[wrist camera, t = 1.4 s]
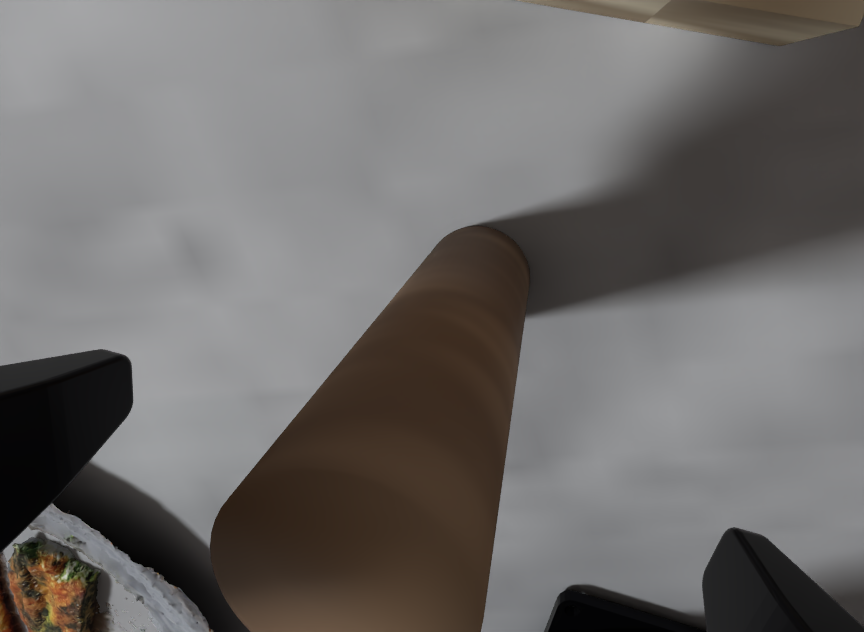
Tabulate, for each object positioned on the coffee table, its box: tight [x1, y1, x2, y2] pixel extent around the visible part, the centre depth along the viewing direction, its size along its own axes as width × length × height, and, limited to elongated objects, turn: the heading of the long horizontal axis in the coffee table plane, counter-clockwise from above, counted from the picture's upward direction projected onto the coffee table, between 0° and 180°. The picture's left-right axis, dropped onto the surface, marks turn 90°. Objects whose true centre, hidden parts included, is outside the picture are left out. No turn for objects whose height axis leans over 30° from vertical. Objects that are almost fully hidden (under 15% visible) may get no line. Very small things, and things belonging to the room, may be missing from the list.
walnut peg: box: [210, 226, 530, 632], centre depth 11 cm, size 3×3×11 cm
